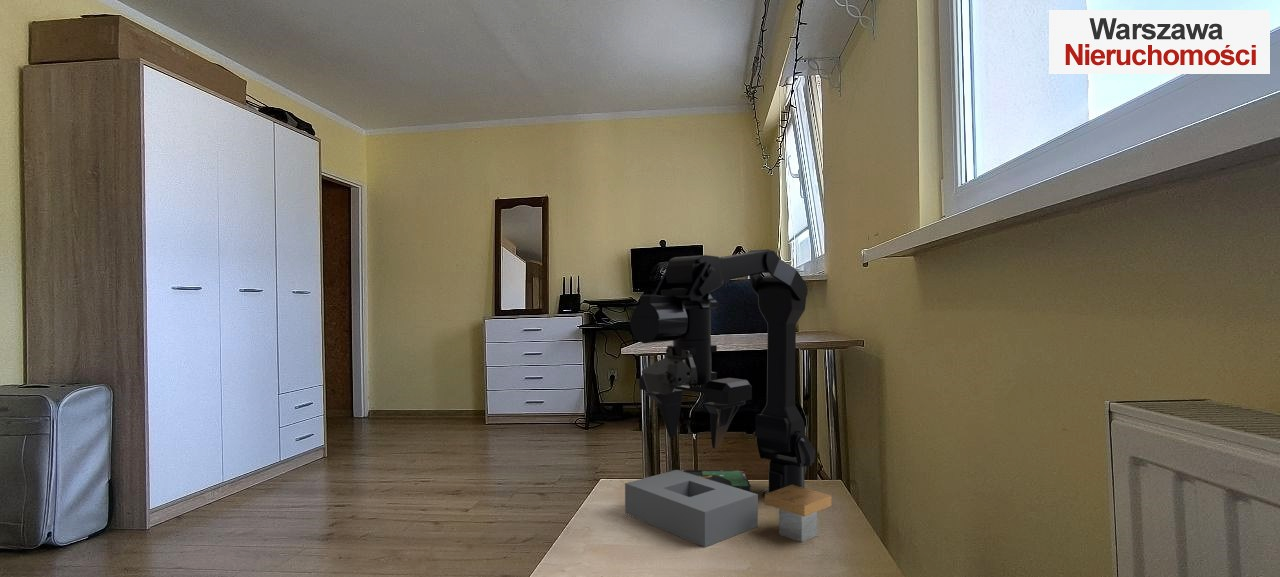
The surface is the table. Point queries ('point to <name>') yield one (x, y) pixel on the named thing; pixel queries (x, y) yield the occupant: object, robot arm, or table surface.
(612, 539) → the table surface
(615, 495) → the table surface
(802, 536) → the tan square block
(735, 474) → the disk drive
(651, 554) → the table surface
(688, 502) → the gray rectangular block
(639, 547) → the table surface
